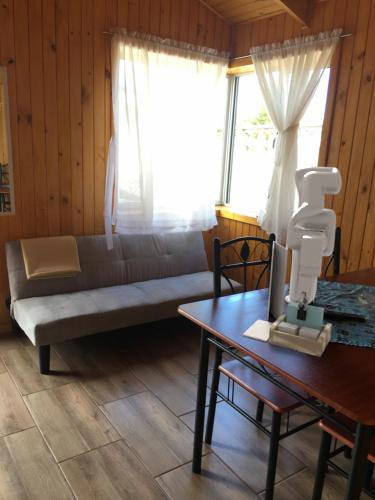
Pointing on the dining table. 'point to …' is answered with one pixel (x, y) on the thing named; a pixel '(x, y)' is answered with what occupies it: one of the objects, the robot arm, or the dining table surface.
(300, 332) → the offcut
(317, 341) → the crate
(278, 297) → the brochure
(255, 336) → the mat
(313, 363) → the dining table surface
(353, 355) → the dining table surface
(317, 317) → the teal rectangular block
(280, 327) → the offcut
